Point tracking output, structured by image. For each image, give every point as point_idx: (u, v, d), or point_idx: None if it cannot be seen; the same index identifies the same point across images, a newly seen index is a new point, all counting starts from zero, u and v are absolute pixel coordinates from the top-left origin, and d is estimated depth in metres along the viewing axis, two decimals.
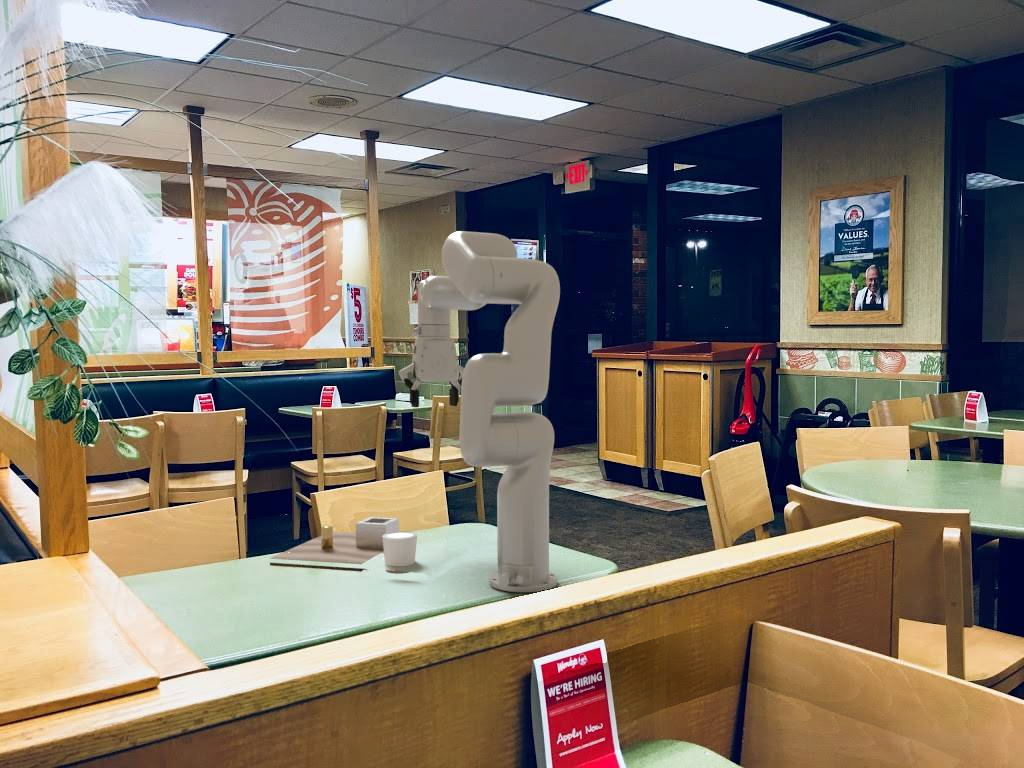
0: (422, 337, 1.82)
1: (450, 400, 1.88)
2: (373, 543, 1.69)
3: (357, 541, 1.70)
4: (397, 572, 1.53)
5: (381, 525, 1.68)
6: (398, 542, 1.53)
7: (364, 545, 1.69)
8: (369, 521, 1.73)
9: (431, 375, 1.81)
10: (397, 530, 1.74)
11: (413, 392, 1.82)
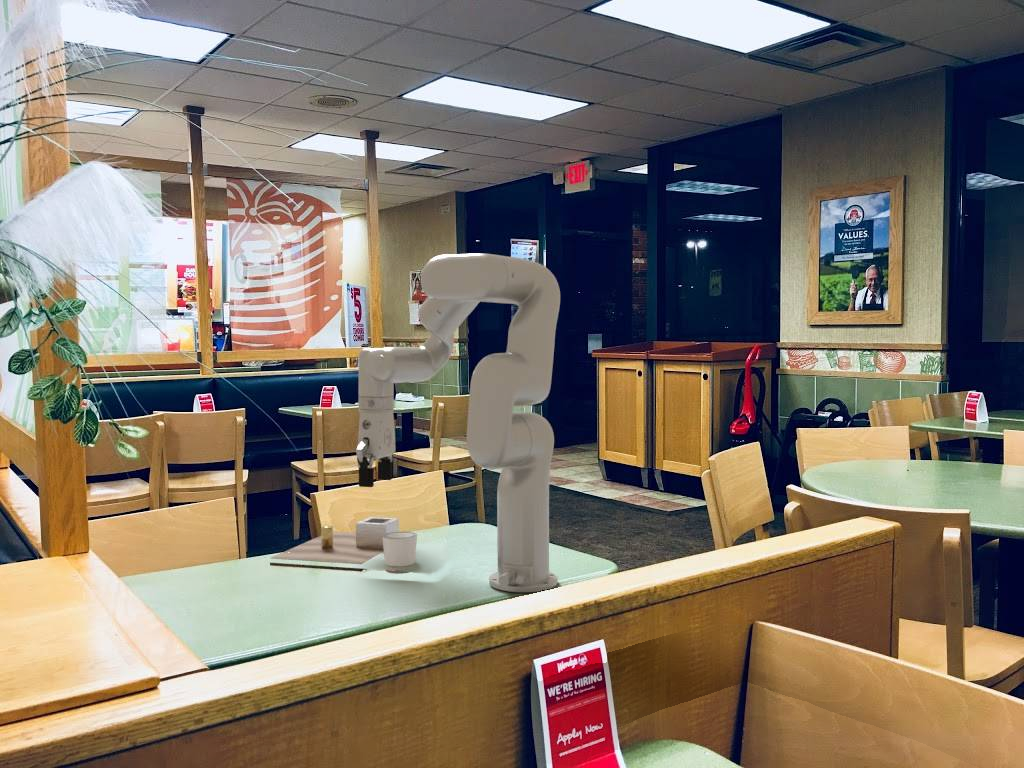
0: (375, 410, 1.68)
1: (380, 474, 1.77)
2: (373, 543, 1.69)
3: (357, 541, 1.70)
4: (397, 572, 1.53)
5: (381, 525, 1.68)
6: (398, 542, 1.53)
7: (364, 545, 1.69)
8: (369, 521, 1.73)
9: (384, 451, 1.70)
10: (397, 530, 1.74)
11: (368, 471, 1.67)
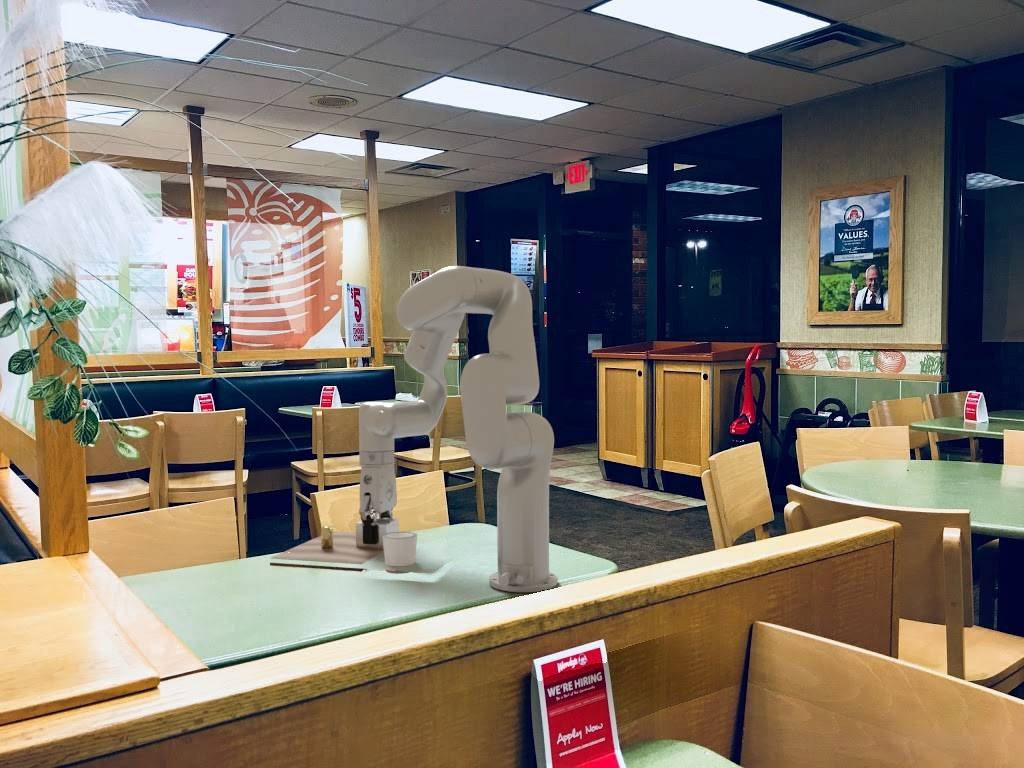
0: (376, 465, 1.68)
1: None
2: None
3: (357, 541, 1.70)
4: (397, 572, 1.53)
5: (381, 525, 1.68)
6: (398, 542, 1.53)
7: (364, 545, 1.69)
8: None
9: (385, 505, 1.70)
10: (397, 530, 1.74)
11: (372, 528, 1.68)
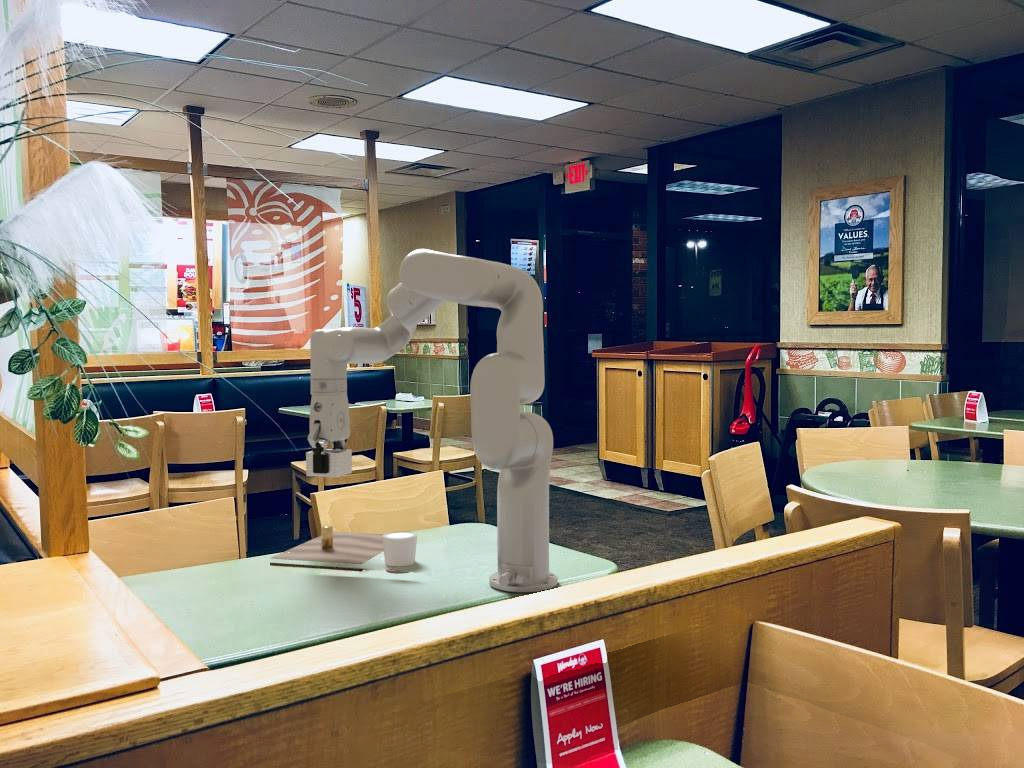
0: (326, 393, 1.64)
1: None
2: None
3: (307, 471, 1.66)
4: (397, 572, 1.53)
5: (331, 454, 1.65)
6: (398, 542, 1.53)
7: (314, 475, 1.66)
8: None
9: (336, 434, 1.66)
10: (350, 461, 1.70)
11: (322, 457, 1.64)
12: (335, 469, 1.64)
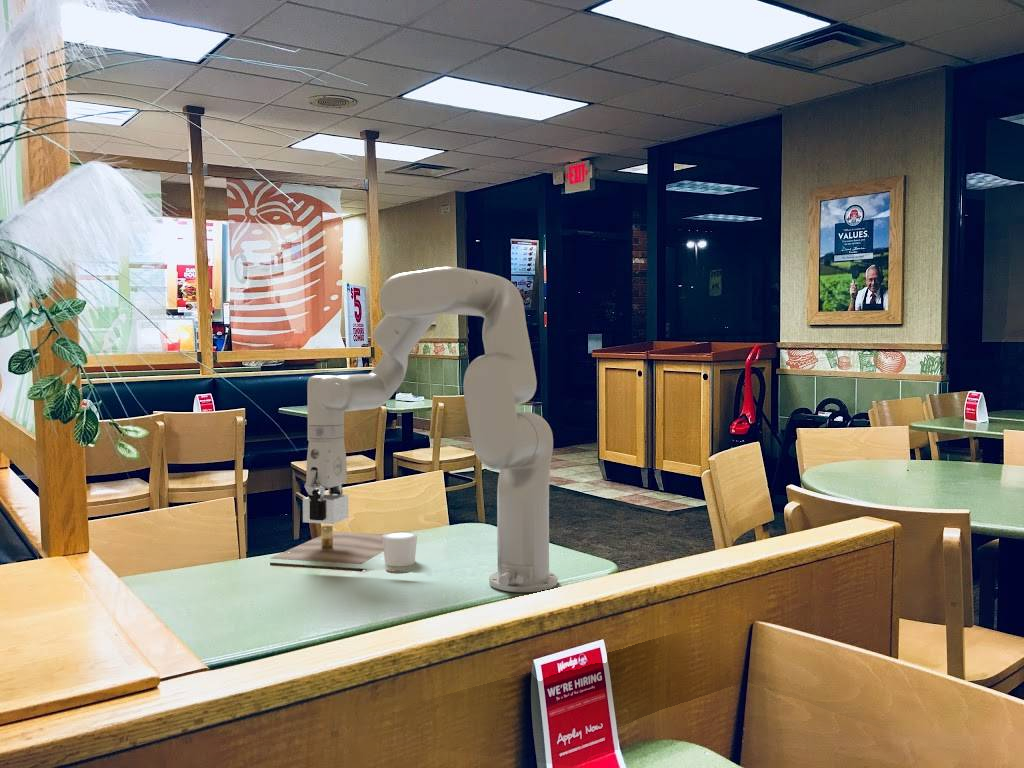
0: (323, 439, 1.64)
1: None
2: None
3: (304, 517, 1.66)
4: (397, 572, 1.53)
5: (328, 500, 1.65)
6: (398, 542, 1.53)
7: (311, 521, 1.66)
8: None
9: (333, 481, 1.66)
10: (346, 506, 1.70)
11: (319, 504, 1.64)
12: (332, 516, 1.64)
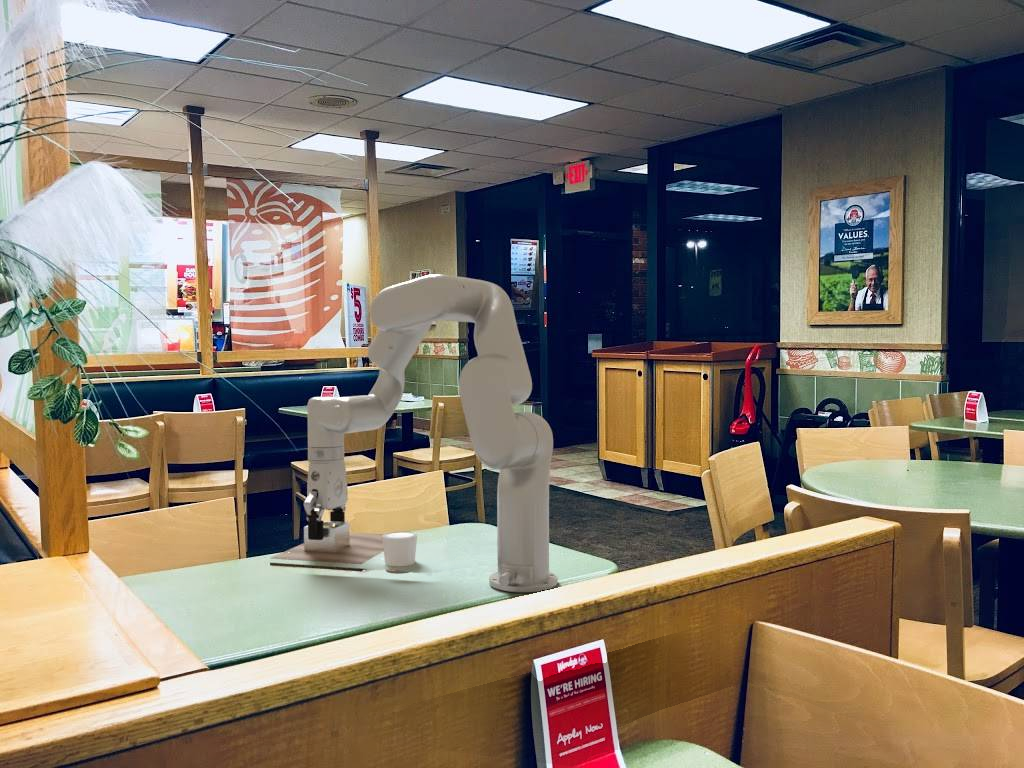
0: (324, 461, 1.65)
1: None
2: (321, 547, 1.65)
3: (305, 545, 1.66)
4: (397, 572, 1.53)
5: (329, 529, 1.65)
6: (398, 542, 1.53)
7: (312, 549, 1.66)
8: None
9: (334, 502, 1.66)
10: (347, 534, 1.70)
11: (317, 523, 1.63)
12: (333, 544, 1.65)
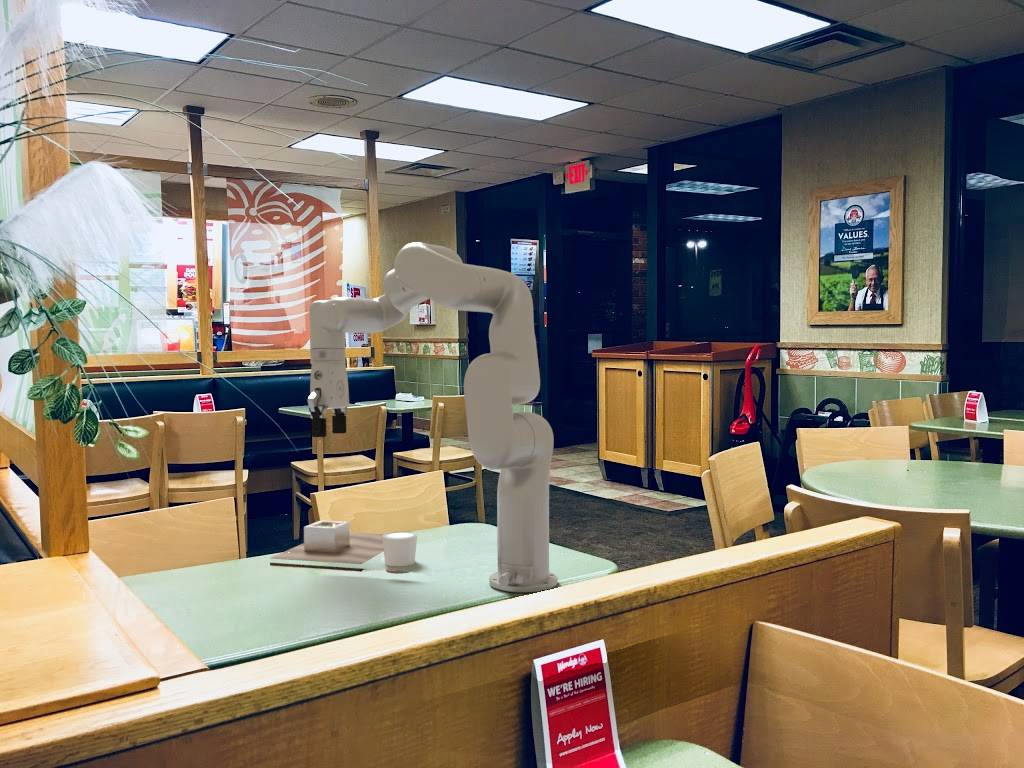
0: (326, 361, 1.70)
1: (334, 427, 1.78)
2: (321, 547, 1.65)
3: (305, 545, 1.66)
4: (397, 572, 1.53)
5: (329, 529, 1.65)
6: (398, 542, 1.53)
7: (312, 549, 1.66)
8: (319, 525, 1.70)
9: (336, 402, 1.71)
10: (347, 534, 1.70)
11: (320, 421, 1.68)
12: (333, 544, 1.65)
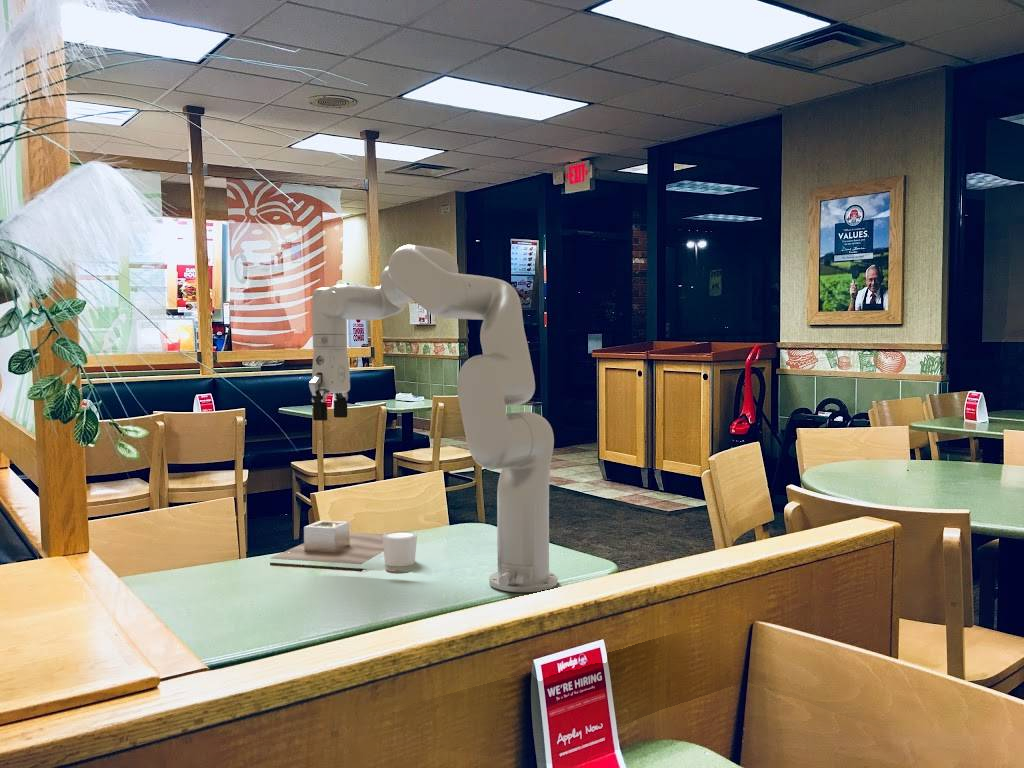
0: (328, 347, 1.75)
1: (336, 412, 1.83)
2: (321, 547, 1.65)
3: (305, 545, 1.66)
4: (397, 572, 1.53)
5: (329, 529, 1.65)
6: (398, 542, 1.53)
7: (312, 549, 1.66)
8: (319, 525, 1.70)
9: (337, 387, 1.76)
10: (347, 534, 1.70)
11: (322, 405, 1.73)
12: (333, 544, 1.65)
